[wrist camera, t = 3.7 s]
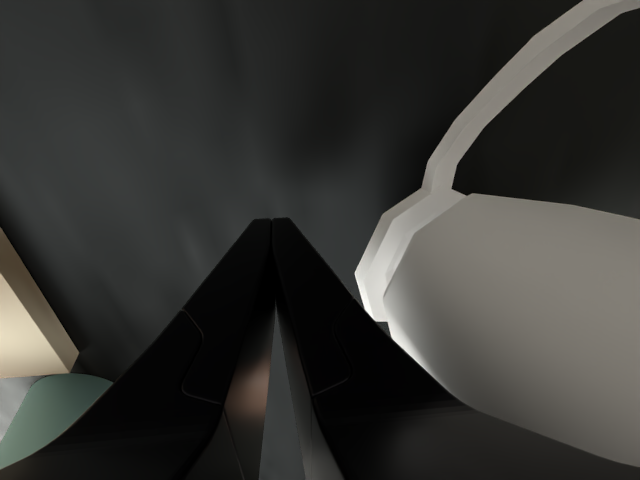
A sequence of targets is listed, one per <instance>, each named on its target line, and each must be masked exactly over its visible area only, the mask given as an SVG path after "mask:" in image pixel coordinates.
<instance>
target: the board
mask: <svg viewBox="0 0 640 480" xmlns="http://www.w3.org/2000/svg"><path fill="white" fill-rule="evenodd" d="M78 354H79V352H78V350H77V348H76V347H75V345H74V344H73V342H72V340H71V339H70V337H69V336H68V334H67V332H66V331H65V329H64V328H63V326H62V324H61V323H60V321H59V320H58V318H57V316H56V315H55V313H54V312H53V310H52V308H51V307H50V305H49V304H48V302H47V300H46V299H45V297H44V296H43V294H42V292H41V291H40V289H39V288H38V286H37V285H36V283H35V281H34V280H33V278H32V277H31V275H30V273H29V272H28V270H27V269H26V267H25V265H24V264H23V262H22V261H21V259H20V257H19V256H18V254H17V253H16V251H15V249H14V248H13V246H12V245H11V243H10V241H9V240H8V238H7V237H6V235H5V233H4V232H3V230H2V229H1V227H0V378H12V377H25V376H38V375H51V374H64V373H70V371H71V369H72V367H73V365H74V363H75V361H76V359H77V356H78Z"/></svg>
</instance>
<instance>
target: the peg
mask: <svg viewBox="0 0 640 480" xmlns="http://www.w3.org/2000/svg"><path fill="white" fill-rule="evenodd" d="M112 384H113V382H111V381H109V380H106V379H103V378H100V377H97V376H92V375H86V374H77V373H66V374H56V375H51V376H47V377H44V378H42V379H40V380H38V381H36V382H35V383H34V384H33V385H32V386H31V387H30V389H29V391H28V393H27V395H26V397H25V399H24V400H23V402H22V404H21V406H20V408H19V410H18V412H17V413H16V415H15V417H14V419H13V421H12V423H11V424H10V426H9V428H8V430H7V432H6V434H5V436H4V437H3V439H2V441H1V443H0V469H2V468H4V467H6V466H8V465H10V464H12V463H15V462H17V461H19V460H21V459H23V458H25V457H27V456H29V455H31V454H32V453H34V452H36V451H37V450H39V449H41V448H42V447H44V446H45V445H47V444H48V443H49V442H51V441H52V440H54V439H55V438H56V437H57V436H59V435H60V434H61V433H62V432H64V431H65V430H66V429H67V428H68V427H69V426H70V425H71V424H72V423H74V422H75V421H76V420H77V419H78V418H79V417H80V416H81V415H82V414H83V413H84V412H85V411H86V410H87V409H88V408H89V407H90V406H91V405H92V404H93V403H94V402H95V401H96V400H97V399H98V398H99V397H100V396H101V395H102V394H103V393H104V392H105V391H106V390H107V389H108V388H109V387H110V386H111V385H112Z"/></svg>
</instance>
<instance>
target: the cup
mask: <svg viewBox="0 0 640 480" xmlns="http://www.w3.org/2000/svg"><path fill="white" fill-rule="evenodd" d="M638 8H640V0H583V1H581V2H580V3H579V4H577V5H576V6H574V7H573V8H572V9H570V10H569V11H568V12H566V13H565V14H563V15H562V16H561V17H559V18H558V19H556V20H555V21H554V22H552V23H551V24H550V25H548V26H547V27H545V28H544V29H543V30H541V31H540V32H539V33H537V34H536V35H534V36H533V37H532V38H531V40H530V41H529V42H528V43H527V44H526V45H525V46H524V47H523V48H522V49H521V50H520V51H519V52H518V53H517V54H516V55H515V56H514V57H513V58H512V59H511V60H510V61H509V62H508V63H507V64H506V65H505V66H504V67H503V68H502V69H501V70H500V71H499V72H498V73H497V74H496V75H495V76H494V77H493V78H492V79H491V80H490V82H489V83H488V84H487V85H486V86H485V87H484V88H483V89H482V90H481V92H480V93H479V94H478V95H477V96H476V97H475V98H474V99H473V100H472V101H471V103H470V104H469V105H468V106H467V107H466V108H465V109H464V110H463V111H462V113H461V114H460V115H459V116H458V117H457V118H456V119H455V120H454V122H453V123H452V125H451V126H450V128H449V130H448V131H447V133H446V134H445V136H444V137H443V139H442V140H441V142H440V143H439V145H438V146H437V148H436V149H435V151H434V152H433V154H432V155H431V157H430V159H429V160H428V162H427V166H426V171H425V175H424V179H423V183H422V187H421V188H420V189H419V190H417V191H416V192H414V193H413V194H411V195H410V196H409V197H407V198H406V199H404V200H403V201H401V202H400V203H398V204H397V205H395V206H394V207H392V208H391V209H389V210H388V211H386V212H385V213H383V214H382V216H381V218H380V220H379V223H378V225H377V227H376V229H375V231H374V233H373V235H372V237H371V240H370V242H369V244H368V246H367V248H366V250H365V252H364V254H363V257H362V259H361V261H360V263H359V265H358V267H357V269H356V271H355V277H356V280H357V284H358V287H359V290H360V294H361V297H362V301H363V304H364V307H365V310H366V311H367V312H368V314H369V315H370V316H371V317H372V318H373V319H374V320H375V321H388V325H389V329H390V333H391V337H392V339H393V340H394V341H395V342H396V343H397V344H398V345H399V346H400V347H402V348H403V349H404V350H405V351H406V352H407V353H408V354H409V355H410V356H411V357H412V358H413V359H414V360H415V361H416V362H417V363H419V364H420V365H421V366H422V367H423V368H424V369H425V370H426V371H427V372H428V373H429V374H430V375H431V376H432V377H433V378H435V379H436V380H437V381H438V382H439V383H440V384H441V385H442V386H443V387H444V388H445V389H447V390H448V391H449V392H450V393H451V394H453V395H454V396H455V397H456V398H458V399H459V400H461V401H462V402H464V403H465V404H467V405H468V406H470V407H472V408H474V409H476V410H478V411H480V412H483V413H485V414H488V415H491V416H493V417H496V418H499V419H501V420H504V421H507V422H509V423H512V424H515V425H517V426H520V427H523V428H525V429H528V430H531V431H533V432H536V433H539V434H541V435H544V436H547V437H549V438H552V439H555V440H557V441H560V442H563V443H565V444H568V445H571V446H573V447H576V448H579V449H581V450H584V451H587V452H589V453H592V454H595V455H597V456H600V457H604V458H607V459H610V460H613V461H616V462H620V463H624V464H628V465H632V466H637V467H640V219H635V218H630V217H626V216H621V215H617V214H612V213H608V212H603V211H599V210H594V209H590V208H585V207H580V206H576V205H570V204H561V203H552V202H544V201H535V200H527V199H518V198H510V197H501V196H492V195H484V194H475V193H472V194H470V195H468V196H466V195H464V194H461V193H459V192H457V191H455V190H452V189H451V188H452V184H453V179H454V175H455V171H456V167H457V164H458V162H459V161H460V160H461V158H462V157H463V155H464V154H465V153H466V151H467V150H468V149H469V147H470V146H471V145H472V143H473V142H474V141H475V139H476V138H477V136H478V135H479V134H480V132H481V131H482V130H483V128H484V127H485V126H486V125H487V124H488V123H489V122H490V121H491V120H492V119H493V118H494V117H495V116H496V115H497V114H498V113H499V112H500V111H501V110H502V109H503V108H505V107H506V106H507V105H508V104H509V103H510V102H511V101H512V100H513V99H514V98H515V97H516V96H517V95H518V94H519V93H520V92H521V91H522V90H523V89H524V88H525V87H527V86H528V85H529V84H530V83H531V82H532V81H533V80H534V79H535V78H537V77H538V76H539V75H540V74H541V73H542V72H543V71H544V70H545V69H547V68H548V67H549V66H550V65H551V64H552V63H553V62H554V61H555V60H557V59H558V58H559V57H560V56H561V55H563V54H564V53H565V52H567V51H568V50H570V49H571V48H573V47H574V46H575V45H577V44H578V43H580V42H581V41H582V40H584V39H585V38H587V37H588V36H590V35H591V34H592V33H594V32H595V31H597V30H598V29H600V28H601V27H602V26H604V25H605V24H607V23H608V22H610V21H611V20H612V19H614V18H615V17H617V16H618V15H619V14H621V13H624V12H627V11H631V10H634V9H638Z"/></svg>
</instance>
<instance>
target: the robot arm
mask: <svg viewBox="0 0 640 480" xmlns="http://www.w3.org/2000/svg"><path fill="white" fill-rule="evenodd" d="M276 308H277V315H278V321H279V327H280V333H281V338H282V344H283V350H284V356H285V361H286V367H287V373H288V379H289V384H290V390H291V396H292V402H293V408H294V413H295V419H296V425H297V431H298V436H299V442H300V448H301V454H302V459H303V465H304V471H305V477H306V480H640V467H637V466H632V465H628V464H624V463H620V462H616V461H613V460H610V459H607V458H604V457H600V456H597V455H595V454H592V453H589V452H587V451H584V450H581V449H579V448H576V447H573V446H571V445H568V444H565V443H563V442H560V441H557V440H555V439H552V438H549V437H547V436H544V435H541V434H539V433H536V432H533V431H531V430H528V429H525V428H523V427H520V426H517V425H515V424H512V423H509V422H507V421H504V420H501V419H499V418H496V417H493V416H491V415H488V414H485V413H483V412H480V411H478V410H476V409H474V408H472V407H470V406H468V405H467V404H465V403H464V402H462V401H461V400H459V399H458V398H456V397H455V396H454V395H453V394H451V393H450V392H449V391H448V390H447V389H445V388H444V387H443V386H442V385H441V384H440V383H439V382H438V381H437V380H436V379H435V378H433V377H432V376H431V375H430V374H429V373H428V372H427V371H426V370H425V369H424V368H423V367H422V366H421V365H420V364H419V363H417V362H416V361H415V360H414V359H413V358H412V357H411V356H410V355H409V354H408V353H407V352H406V351H405V350H404V349H403V348H402V347H400V346H399V345H398V344H397V343H396V342H395V341H394V340H393V339H392V338H391V337H390V336H389V335H388V334H387V333H386V332H385V331H384V330H383V329H382V328H381V327H380V326H379V325H378V324H377V323H376V322H375V320H374V319H373V318H372V317H371V316H370V315H369V314H368V312H367V311H366V310H365V309H364V308H363V307H362V305H361V304H360V303H359V302H358V300H357V299H356V298H354V296H353V295H352V293H351V292H350V291H349V290H348V289H347V287H346V286H345V285H344V284H343V282H342V281H341V280H340V279H339V278H338V276H337V275H336V274H335V273H334V271H333V270H332V269H331V268H330V267H329V265H328V264H327V263H326V262H325V261H324V259H323V258H322V257H321V256H320V254H319V253H318V252H317V251H316V250H315V248H314V247H313V246H312V245H311V244H310V242H309V241H308V240H307V239H306V237H305V236H304V235H303V234H302V233H301V231H300V230H299V229H298V228H297V227H296V225H295V224H294V223H293V222H292V220H291V219H290V218H287V217H286V218H274V219H272V221H271V219H269V218H266V219H254V220H253V221H252V222H251V223H250V224H249V226H248V227H247V228H246V229H245V231H244V232H243V233H242V234H241V236H240V237H239V238H238V239H237V241H236V242H235V243H234V244H233V245H232V247H231V248H230V249H229V250H228V252H227V253H226V254H225V255H224V257H223V258H222V259H221V260H220V262H219V263H218V264H217V265H216V267H215V268H214V269H213V270H212V271H211V273H210V274H209V275H208V276H207V278H206V279H205V280H204V281H203V283H202V284H201V285H200V286H199V288H198V289H197V290H196V291H195V293H194V294H193V295H192V296H191V297H190V299H189V300H188V301H187V302H186V304H185V305H184V306H183V307H182V310H180V311H179V312H178V313H177V315H176V316H175V317H174V318H173V320H172V321H171V322H170V323H169V324H168V326H167V327H166V328H165V329H164V330H163V331H162V333H161V334H160V335H159V336H158V337H157V338H156V340H155V341H154V342H153V343H152V344H151V345H150V346H149V347H148V348H147V349H146V350H145V351H144V352H143V353H142V354H141V355H140V357H139V358H138V359H137V360H136V361H135V362H134V363H133V364H132V365H131V366H130V367H129V368H128V369H127V370H126V371H125V372H124V373H123V374H122V375H121V376H120V377H119V378H118V379H117V380H116V381H115V382H114V383H113V384H112V385H111V386H110V387H109V388H108V389H107V390H106V391H105V392H104V393H103V394H102V395H101V396H100V397H99V398H98V399H97V400H96V401H95V402H94V403H93V404H92V405H91V406H90V407H89V408H88V409H87V410H86V411H85V412H84V413H83V414H82V415H81V416H80V417H79V418H78V419H77V420H76V421H75V422H74V423H72V424H71V425H70V426H69V427H68V428H67V429H66V430H65V431H64V432H62V433H61V434H60V435H59V436H57V437H56V438H55V439H54V440H52V441H51V442H49V443H48V444H47V445H45V446H44V447H42V448H41V449H39V450H37V451H36V452H34V453H32V454H31V455H29V456H27V457H25V458H23V459H21V460H19V461H17V462H15V463H12V464H10V465H8V466H6V467H4V468H2V469H0V480H258V479H259V469H260V459H261V449H262V440H263V430H264V420H265V410H266V401H267V391H268V381H269V371H270V361H271V352H272V342H273V332H274V322H275V311H276Z"/></svg>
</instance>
